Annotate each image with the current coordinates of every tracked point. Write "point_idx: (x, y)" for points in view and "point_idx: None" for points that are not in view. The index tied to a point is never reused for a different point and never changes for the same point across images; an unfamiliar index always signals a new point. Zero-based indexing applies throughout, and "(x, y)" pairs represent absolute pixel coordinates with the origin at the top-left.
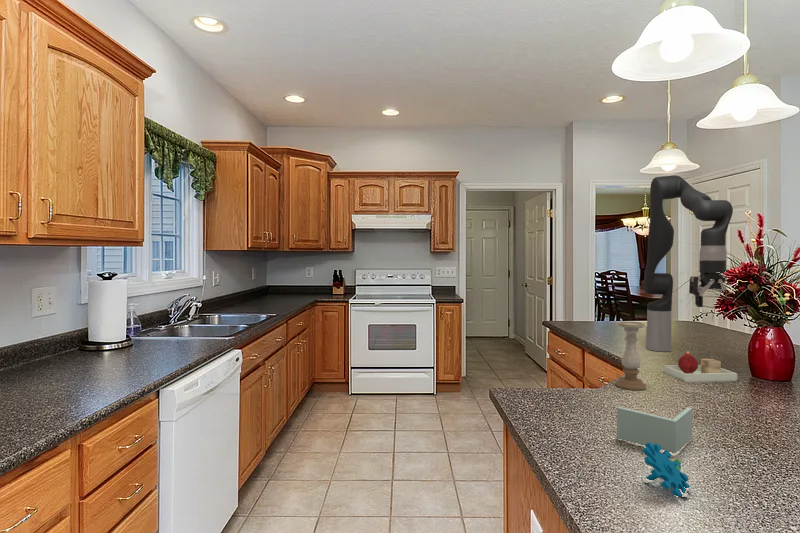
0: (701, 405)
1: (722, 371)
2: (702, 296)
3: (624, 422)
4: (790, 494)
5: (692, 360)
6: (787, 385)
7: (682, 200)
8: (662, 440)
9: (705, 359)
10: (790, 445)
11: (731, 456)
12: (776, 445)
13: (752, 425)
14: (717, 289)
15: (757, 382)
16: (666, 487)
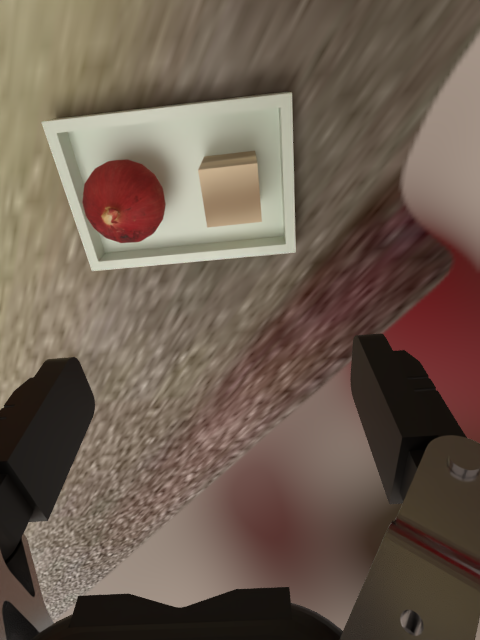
0: None
1: (282, 182)
2: (41, 520)
3: None
4: (76, 599)
5: (126, 241)
6: (423, 280)
7: None
8: None
9: (213, 183)
10: (142, 541)
11: (51, 560)
12: (123, 541)
13: (128, 499)
14: (385, 535)
15: (353, 252)
16: None
